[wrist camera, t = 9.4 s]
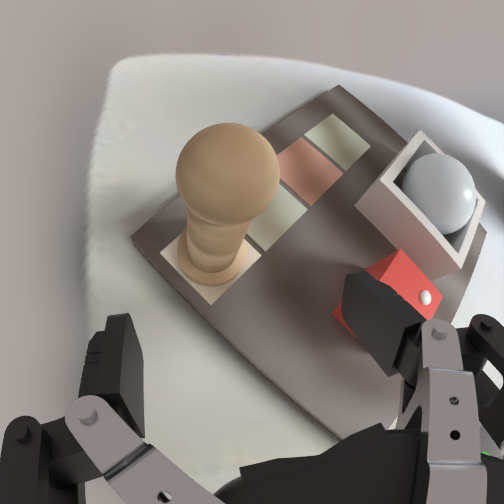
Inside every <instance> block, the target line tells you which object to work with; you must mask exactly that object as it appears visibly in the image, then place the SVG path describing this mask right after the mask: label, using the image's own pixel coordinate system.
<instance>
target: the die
mask: <svg viewBox="0 0 504 504" xmlns="http://www.w3.org/2000/svg"><path fill="white" fill-rule="evenodd" d="M365 271H367V272H368V273H369V274H370V275H372V276H373V277H374V278H375V279H376V280H379V281H381V282H383V283H385V284H387V285H389V286H391V287H392V288H393V289H394V290H395V291H396V292H397V293H398V295H399V294H400V295H401V296H402V297H403V298H404V300H406V301H407V302H408V303H409V304H411V305H412V306H413V307H414V308H415V309H416V310H417V311H418V312H419V313H420V314H421V315H422V316H424V317H425V318H426V319H427V320H430V319H432V317H433V315H434V313H435V311H436V310H437V308H438V306H439V304H440V302H441V300H442V298H443V296H442V294H441V293H440V292H439V291H438V290H437V289H436V287H435V286H434V285H433V284H432V283H431V282H430V280H429V279H428V278H427V277H426V276H425V275H424V274H423V272H422V271H421V270H420V269H419V268H418V267H417V266H416V265H415V264H414V262H413V261H412V260H411V259H410V258H409V257H408V256H407V255H406V254H405V253H404V252H403V250H402V249H399V250H397V251H396V252H394V253H392V254H391V255H389V256H387V257H385V258H384V259H382V260H380V261H378V262H377V263H375V264H373V265H372V266H370V267H368V268H366V269H365ZM341 305H342V301H341V302H340V304H339V305H338V306H337V307H336V309H335V310H334V311H333V312H332V315H334V316H335V317H336V318H337V319H338V320H339V321H340V322H341V323H342V324H343V325H344V326H345V327H346V328H347V329H348V330H349V331H350V332H351V333H352V334H353V335H354V336H355V334H354V333H353V332H352V331H351V329H350V328H349V327H348V326H347V324H346V323H345V321H344V320H343V317H342V313H341ZM355 337H356V336H355ZM356 338H357V337H356ZM357 339H358V338H357ZM358 340H359V339H358Z"/></svg>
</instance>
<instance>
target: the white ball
mask: <svg viewBox="0 0 504 504" xmlns="http://www.w3.org/2000/svg"><path fill="white" fill-rule="evenodd" d="M401 191H402V192H403V193H404V194H405V195H406V196H407V197H408V198H409V199H410V200H411V201H412V202H413V203H414V204H415V205H416V206H417V207H418V209H419V210H420V211H421V212H422V213H423V214H424V215H425V216H426V217H427V218H428V219H429V221H430V222H431V223H432V224H433V225H434V226H435V227H436V228H437V230H438V231H439V232H440V233H441V234H442V235H445V234H450V233H453V232H455V231H457V230H459V229H460V228H462V227H463V226H464V225H465V224H466V223H467V222H468V220H469V219H470V217H471V215H472V213H473V211H474V208H475V204H476V188H475V184H474V181H473V179H472V176H471V174H470V173H469V171H468V170H467V168H466V167H465V166H464V165H463V164H462V163H461V162H459V161H458V160H457V159H455V158H453V157H451V156H449V155H445V154H440V153H433V154H428V155H425V156H422V157H420V158H418V159H417V160H416V161H414V162H413V163H412V164H411V166H410V167H409V168H408V170H407V171H406V173H405V175H404V178H403V181H402V187H401Z"/></svg>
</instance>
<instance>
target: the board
mask: <svg viewBox="0 0 504 504" xmlns="http://www.w3.org/2000/svg"><path fill="white" fill-rule="evenodd" d="M262 136H263V137H264V138H265V139H266V140H267V141H268V142H269V143H270V145H271V146H272V148H273V149H274V151H275V153H276V156H277V159H278V162H279V168H280V180H279V186H278V189H277V192H276V195H275V197H274V199H273V200H272V202H271V203H270V205H269V206H268V207H267V209H266V210H265V211H264V212H262V213H261V214H260V215H259V216H257V217H256V218H254V219H253V220H252V221H251V224H250V226H249V228H248V230H247V233H246V235H245V237H244V240H245V243H246V259H245V262H244V264H243V266H242V268H241V270H240V271H239V273H238V274H237V275H236V276H235V278H233V279H232V280H231V281H229V282H228V283H226V284H223V285H220V286H214V287H209V286H203V285H200V284H197V283H195V282H193V281H192V280H190V279H189V278H188V277H187V276H186V275H185V274H184V272H183V271H182V269H181V267H180V264H179V261H178V254H177V245H178V240H179V238H180V235H181V234H182V232H183V230H184V229H185V228H186V227H187V206H186V205H185V204H184V202H183V200H182V198H181V196H178V197H177V198H176V199H175V200H173V201H172V202H171V203H170V204H168V205H167V206H166V207H165V208H164V209H162V210H161V211H160V212H159V213H158V214H156V215H155V216H154V217H153V218H152V219H150V220H149V221H148V222H147V223H146V224H144V225H143V226H142V227H141V228H140V229H139V230H137V231H136V232H135V233H134V234H133V235H132V236H130V237H131V239H132V241H133V243H134V245H135V246H136V247H137V248H138V249H139V251H140V252H141V253H142V254H143V255H144V256H145V257H146V258H147V259H148V260H149V262H150V263H151V264H152V265H153V266H154V267H155V268H156V269H157V270H158V271H159V272H160V273H161V275H162V276H163V277H164V278H165V279H166V280H167V281H168V282H169V283H170V284H171V285H172V286H173V287H174V288H175V289H176V290H177V291H178V292H179V294H180V295H181V296H182V297H183V298H184V299H185V300H186V301H187V302H188V303H189V304H190V305H191V306H192V307H193V308H194V309H195V310H196V311H197V312H198V313H199V314H200V315H201V316H202V317H203V318H204V319H205V320H206V321H207V322H208V323H209V324H210V325H211V326H212V327H213V328H214V329H215V330H216V331H217V332H218V333H219V334H220V335H221V336H223V337H224V338H225V339H226V340H227V341H228V342H229V343H230V344H231V345H232V346H233V347H234V348H235V349H236V350H237V351H238V352H239V353H240V354H241V355H243V356H244V357H245V358H246V359H247V360H248V361H249V362H250V363H251V364H252V365H253V366H254V367H256V368H257V369H258V370H259V371H260V372H261V373H262V374H263V375H264V376H266V377H267V378H268V379H269V380H270V381H271V382H272V383H273V384H275V385H276V386H277V387H278V388H279V389H280V390H281V391H283V392H284V393H285V394H286V395H287V396H288V397H289V398H291V399H292V400H293V401H294V402H295V403H296V404H298V405H299V406H300V407H301V408H302V409H304V410H305V411H306V412H307V413H308V414H310V415H311V416H312V417H313V418H314V419H316V420H317V421H318V422H319V423H321V424H322V425H323V426H324V427H325V428H327V429H328V430H329V431H330V432H332V433H333V434H334V435H336V436H337V437H338V438H339V439H341V440H343V439H345V438H346V437H348V436H349V435H351V434H354V433H356V432H359V431H361V430H364V429H366V428H368V427H371V426H373V425H375V424H378V423H380V422H381V423H382V425H383V426H384V428H385V430H388V428H389V427H390V426H391V424H392V423H393V421H394V420H395V418H396V417H397V416H398V411H399V402H400V391H401V381H402V379H403V377H402V376H401V374H400V373H398V374H395V375H393V376H390V377H387V375H386V374H385V373H384V372H383V370H382V369H381V368H380V366H379V365H378V364H377V362H376V361H375V360H374V359H373V357H372V356H371V355H370V353H369V352H368V351H367V350H366V348H365V347H364V346H363V345H362V343H361V342H360V341H359V340H358V339H357V338H356V337H355V336H354V335H353V334H352V333H351V332H350V331H349V330H348V329H347V328H346V327H345V326H344V325H343V324H342V323H341V322H340V321H339V320H338V319H337V318H336V317H335V316H334V315H332V312H333V311H334V310H335V309H336V307H337V306H338V305H339V304H340V302H341V301H342V297H343V290H344V282H345V277H346V275H347V274H351V273H356V272H360V271H365V269H366V268H368V267H370V266H372V265H373V264H375V263H377V262H378V261H380V260H382V259H384V258H385V257H387V256H389V255H391V254H392V253H394V252H396V251H397V249H396V248H395V247H394V246H393V245H392V244H391V242H390V241H389V240H388V239H387V238H386V237H385V236H384V235H383V234H382V233H381V232H380V231H379V230H378V229H377V228H376V227H375V226H374V225H373V224H372V223H371V222H370V221H369V220H368V219H367V218H366V217H365V216H364V215H363V214H362V213H361V212H360V211H359V210H358V209H357V208H356V207H355V206H354V205H355V204H356V203H357V201H358V200H359V199H360V198H361V197H362V196H363V194H364V193H365V192H366V191H367V190H368V188H369V187H370V186H371V185H372V184H373V183H374V181H375V180H376V179H377V178H378V177H379V175H380V174H381V173H382V172H383V171H384V169H385V168H386V167H387V166H388V165H389V163H390V162H391V161H392V160H393V159H394V157H395V156H396V155H397V154H398V153H399V152H400V151H401V149H402V148H403V147H404V146H405V145H406V144H407V142H406V141H405V140H404V139H403V138H402V137H401V136H399V135H398V134H397V133H396V132H395V131H394V130H393V129H392V128H391V127H390V126H389V125H387V124H386V123H385V122H384V121H383V120H382V119H381V118H379V117H378V116H377V115H376V114H375V113H374V112H372V111H371V110H370V109H369V108H368V107H366V106H365V105H364V104H363V103H362V102H360V101H359V100H358V99H357V98H355V97H354V96H353V95H352V94H350V93H349V92H348V91H346V90H345V89H344V88H343V87H341V86H340V85H338V86H336V87H334V88H333V89H331V90H329V91H328V92H326V93H324V94H323V95H321V96H320V97H318V98H316V99H315V100H313V101H312V102H310V103H308V104H307V105H305V106H304V107H302V108H301V109H299V110H298V111H296V112H294V113H293V114H291V115H290V116H288V117H287V118H285V119H284V120H282V121H281V122H279V123H278V124H276V125H275V126H273V127H272V128H270V129H269V130H268V131H266V132H265V133H263V134H262ZM406 171H407V169H406V168H405V167H404V168H403V169H402V170H401V172H400V173H399V174H398V176H397V177H396V178H395V180H394V181H393V183H394V184H395V185H396V186H397V187H398V188H399V189H400V190H401V187H402V181H403V178H404V175H405V173H406ZM486 233H487V232H486V231H485V229H484V228H483V227H482V225H481V224H480V223H479V224H478V226H477V229H476V232H475V235H474V238H473V240H472V243H471V246H470V248H469V251H468V254H467V256H466V259H465V261H464V263H463V266H462V268H461V269H460V270H458V271H456V272H453V273H451V274H449V275H446V276H444V277H441V278H439V279H437V280H434V281H432V282H431V283H432V284H433V285H434V286H435V287H436V289H437V290H438V291H439V292H440V293H441V294H442V296H443V298H442V300H441V302H440V304H439V306H438V308H437V310H436V311H435V313H434V315H433V317H432V319H440V320H444V321H446V322H448V323H450V324H451V322H452V320H453V318H454V316H455V314H456V312H457V309H458V307H459V305H460V303H461V300H462V298H463V296H464V293H465V291H466V289H467V286H468V284H469V281H470V279H471V276H472V273H473V271H474V268H475V266H476V263H477V260H478V257H479V254H480V252H481V249H482V246H483V243H484V240H485V236H486Z"/></svg>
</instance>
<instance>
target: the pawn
mask: <svg viewBox="0 0 504 504" xmlns="http://www.w3.org/2000/svg"><path fill="white" fill-rule="evenodd" d="M279 180H280V168H279V162H278V159H277V156H276V153H275V151H274V149H273V148H272V146H271V145H270V143H269V142H268V141H267V140H266V139H265V138H264V137H263V136H262V135H261V134H260V133H258V132H257V131H255V130H253V129H251V128H249V127H247V126H244V125H240V124H235V123H222V124H216V125H212V126H210V127H207V128H205V129H203V130H201V131H200V132H198V133H197V134H195V135H194V136H193V137H192V138H191V139H190V140H189V141H188V142H187V144H186V145H185V146H184V148H183V150H182V151H181V153H180V156H179V158H178V161H177V166H176V184H177V188H178V192H179V194H180V196H181V198H182V200H183V202H184V204H185V205H186V206H187V227H186V228H185V229H184V230H183V232H182V234H181V235H180V238H179V240H178V245H177V254H178V261H179V264H180V267H181V269H182V271H183V272H184V274H185V275H186V276H187V277H188V278H189V279H190V280H192V281H193V282H195V283H197V284H200V285H203V286H209V287H214V286H220V285H223V284H226V283H228V282H229V281H231V280H232V279H233V278H235V276H236V275H237V274H238V273H239V271H240V270H241V268H242V266H243V264H244V262H245V259H246V243H245V240H244V237H245V235H246V233H247V230H248V228H249V226H250V224H251V221H252V220H253V219H254V218H256V217H257V216H259V215H260V214H261V213H262V212H264V211H265V210H266V209H267V207H268V206H269V205H270V203H271V202H272V200H273V199H274V197H275V195H276V192H277V189H278V186H279Z"/></svg>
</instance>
